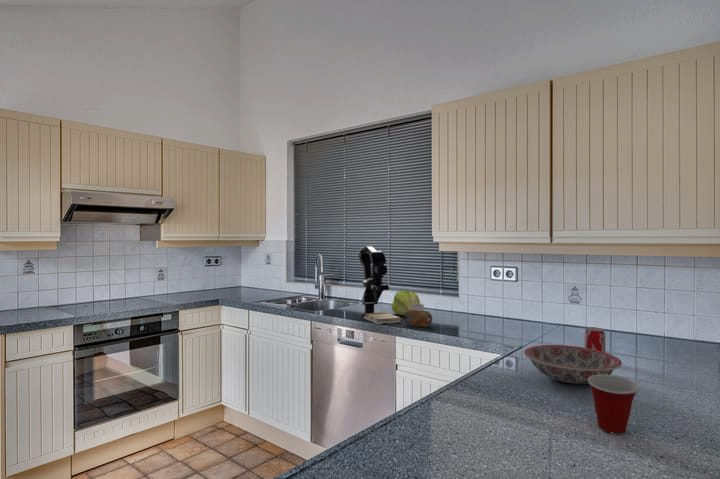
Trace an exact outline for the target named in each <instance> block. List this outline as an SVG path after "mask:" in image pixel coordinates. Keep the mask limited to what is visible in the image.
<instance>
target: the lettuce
mask: <svg viewBox="0 0 720 479" xmlns="http://www.w3.org/2000/svg"><path fill="white" fill-rule="evenodd" d="M412 304H421V301H420V299H419V295H417V293H415V292H413V291H410V290H400V291H397V292H396V293H395V295H394V298H393V302H392V303H391V306H390V307H391V309H392V312H393V313H395V314H396V315H398V316H404V315H405V313H406V312H407V311H409V310H412Z"/></svg>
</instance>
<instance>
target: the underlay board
mask: <svg viewBox="0 0 720 479" xmlns="http://www.w3.org/2000/svg"><path fill="white" fill-rule="evenodd" d="M386 313H387V312H386V311H383V312H374V313H368V314H365V315H364V316H363V319H365V320H367V321H369V322H371V321H372V323H374V324H376V325H384V324H383V323H387V324H396V323H397V322H398V323H402V322H401V319H400V320H396V321H385V322H377V321H375V320H373V319H370V318H368V315H374V314H386Z"/></svg>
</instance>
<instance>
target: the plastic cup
mask: <svg viewBox="0 0 720 479" xmlns="http://www.w3.org/2000/svg"><path fill="white" fill-rule="evenodd" d="M588 382H589V384H588V385H590V389H591V393H592V399H593V403H594V404H593V405H594V410H595V414H596V420H597V425H598V428H599V427H600V428H601V429H603V430H606V431H609V432H613V433H624V432H625V433H626V431H627V427H628V424H629V423H628V422H629V419H630V415H631V410H632V406H633V401H634V397H635V395H636V392H638V391H639V385H638V384H637V383H636V382H634V381H632V380H630V379H628V378H625V377H622V376H618V375H612V374H610V375H602V374H599V375H593V376H591V377H589V378H588ZM600 428H599V429H600ZM601 429H600V430H601ZM603 430H602V431H603ZM625 433H624V434H625Z"/></svg>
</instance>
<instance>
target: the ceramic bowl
mask: <svg viewBox="0 0 720 479" xmlns="http://www.w3.org/2000/svg"><path fill="white" fill-rule="evenodd" d="M523 354H524V356H525V357H526V358H527V359H529V360H530V361H531V363H532V364H533V366H534V367H535V368H536V369H537V370H538V371H539V372H540V373H541V374H543V375H544V376H546V377H548V378H550V379H552V380H556V381H559V382H563V383H568V384H575V385H576V384H577V385H585V384H586V385H590V384H589V382H588V378H589V377H591V376H593V375H599V374H602V375H612V373H613V372H614V370H617V369H619V368H621V367H622V365H623V362H622V360H621V359H620V358H619V357H617V356H615V355H613V354H611V353H607V352H606V351H605V352H602V351H598V350H593V349H588V348H585V347H581V346H574V345H563V344H562V345H561V344H558V345H557V344H542V345H534V346H530V347H528V348H526V349H525V350H524V351H523Z"/></svg>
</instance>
